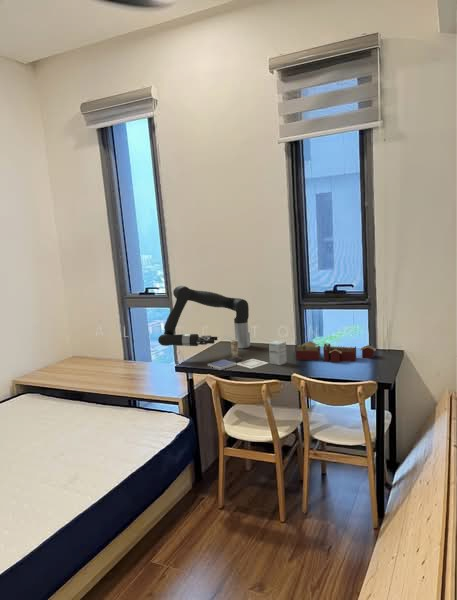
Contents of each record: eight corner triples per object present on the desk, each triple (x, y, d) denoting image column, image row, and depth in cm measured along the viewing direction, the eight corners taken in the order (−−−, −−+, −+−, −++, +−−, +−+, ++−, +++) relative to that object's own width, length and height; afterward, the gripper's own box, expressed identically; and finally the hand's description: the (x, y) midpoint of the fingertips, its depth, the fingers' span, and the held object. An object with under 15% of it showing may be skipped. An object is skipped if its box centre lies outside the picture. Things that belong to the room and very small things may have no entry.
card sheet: (252, 359, 277) (252, 358, 277) (268, 363, 266) (268, 362, 266) (235, 364, 268) (235, 363, 268) (251, 368, 257) (250, 368, 257)
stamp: (235, 358, 281) (234, 339, 279) (241, 359, 277) (240, 340, 275) (229, 360, 278) (228, 341, 276) (234, 361, 274) (233, 342, 272)
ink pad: (223, 361, 275) (223, 359, 275) (236, 365, 266) (235, 362, 266) (207, 366, 268) (207, 363, 268) (220, 370, 258) (220, 367, 258)
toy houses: (295, 361, 267) (294, 345, 266) (301, 352, 286) (301, 336, 285) (375, 364, 251) (374, 347, 250) (376, 354, 270) (376, 338, 269)
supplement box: (269, 363, 265) (268, 342, 264) (277, 360, 270) (276, 340, 269) (279, 365, 260) (278, 344, 258) (287, 362, 265) (286, 341, 263)
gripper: (186, 336, 273) (213, 336, 270) (193, 331, 287) (218, 331, 284) (187, 348, 274) (213, 348, 271) (193, 343, 288) (218, 343, 285)
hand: (215, 340), depth 277 cm, fingers open, 8 cm apart
